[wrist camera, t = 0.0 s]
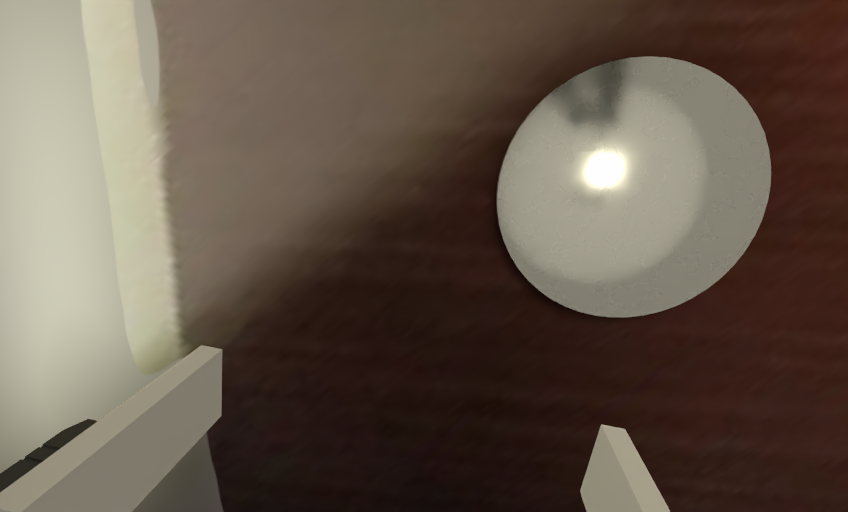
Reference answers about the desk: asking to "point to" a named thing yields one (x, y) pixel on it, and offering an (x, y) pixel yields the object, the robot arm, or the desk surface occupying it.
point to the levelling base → (633, 186)
